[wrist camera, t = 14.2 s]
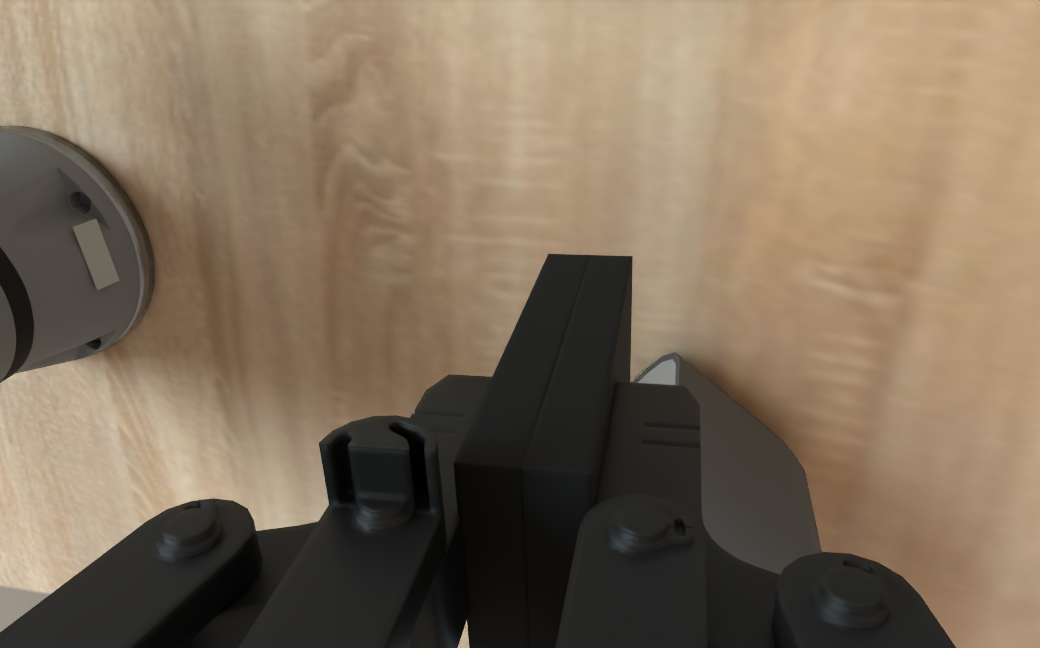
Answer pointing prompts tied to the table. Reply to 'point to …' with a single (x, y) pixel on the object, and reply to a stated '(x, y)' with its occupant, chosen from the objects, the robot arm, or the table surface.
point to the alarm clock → (744, 476)
